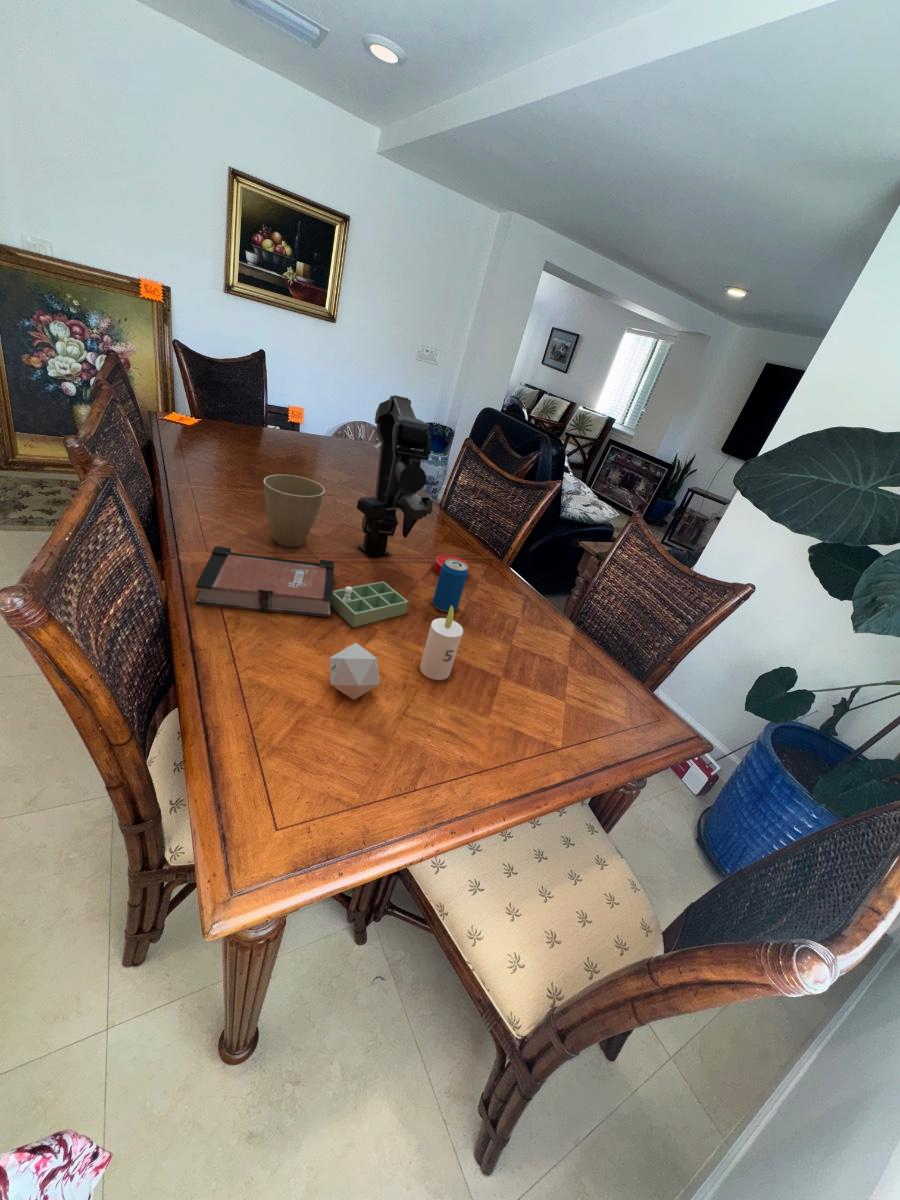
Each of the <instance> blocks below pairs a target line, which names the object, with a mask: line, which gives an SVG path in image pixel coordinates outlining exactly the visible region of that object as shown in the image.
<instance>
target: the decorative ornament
mask: <svg viewBox="0 0 900 1200" xmlns="http://www.w3.org/2000/svg"><path fill="white" fill-rule="evenodd" d="M447 559H456V560H460V561H462V562H464V563H465V564H466V565H467V566H468V568H467V570H468V571H469V568H470V566H469V564H468V563H467V561H465V559H462V558H461V557H457V556H454V555H449V554H442V555H439V556H437V557H436V558H435V563H434V565H433V570H434V572H435V573H436V575H438V576H439V575H440V571H441V568H442V565H443V564H444V563H445V561H446V560H447Z"/></svg>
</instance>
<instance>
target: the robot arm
mask: <svg viewBox="0 0 900 1200" xmlns="http://www.w3.org/2000/svg"><path fill="white" fill-rule="evenodd" d="M374 423H375V424H376V427H375V428H376V429H375V431H376V435H377V437H378V439H379V441H380V449H379V458H378V467H377V476H376V485H375V495H374V496H364V497H360V498H359V499H358V501H357V504H356V509H357V510H358V511H359V512H361V514H363V517H362V518H361V519H362V520H361V530H362V534H364V539H363V544H360V545H358V549H360V550H361V551H362V552H364V553H365V554H366V555H367V556H368V557H370V558H375V557H382V556H388V555H389V554H390V552H389V551H388V550H387V547H388V539H389V536H390V537H394V535H395V532H396V529H397V528H398V525H399V520H398V516H397V510H400V511H401V512H402V514H403V518H402V537H403V538H407V537H408V536H409V534H410V532H411V531H412V529H414V526H415V525H416V523H418V520H422V519H423V518H426V517H428V515H431V514H432V511H433V507H434V506H433V503H434V500H433V498H432V497H431V496H423V495H421V494H417V492H419V491H421V490H422V489H423V488H425V485H426V483H427V475H426V472H425V470H424V469H423V468H422V465H421V463H422V460H423V461H429V456H430V455H431V453H432V452H431V451H432V447H431V446H432V445H431V443H432V442H431V440H432V439H431V433H430V429H428V425H427V423H426V422H425V421H424V420H421V419H418V418H417V417H416V415H415V412H414V410H413V407H412V400H411V399H409V398H408V397H405V396H402V395H401V396H400V395H396V394H393V395H390V396H389V398H388V399H387V400H385V401H382V402H380V403H379V404H378V407H377V409H376V411H375V417H374Z"/></svg>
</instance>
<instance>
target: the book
mask: <svg viewBox="0 0 900 1200" xmlns="http://www.w3.org/2000/svg"><path fill="white" fill-rule="evenodd" d="M334 569H335V561H333V560H327V559H320V560H319V563H318V562H310V561H303V560H302V561H301V560H294V559H288V558H286V559H285V558H279V557H269V556H263V555H253V554H245V553H237V552H232V548H231V547H224V546H214V547H213V549H212V551H211V555H210V557H209V559H208V561H207V563H206V564H205V566H204V568H203V570H202V572H201V574H200V576H199V577H198V580H197V581H196V583H195V589H198V590H197V591H198V596H197V598H196V600H195V605H199V606H209V607H219V608H230V609H242V610H251V611H260V613H268V612H270V613H271V612H272V613H281V614H291V615H292V614H294V615H303V616H313V617H324V618H331V608H332V607H331V602H332V593H333V591H334V589H333V588H334Z"/></svg>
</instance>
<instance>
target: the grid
mask: <svg viewBox="0 0 900 1200" xmlns="http://www.w3.org/2000/svg"><path fill="white" fill-rule="evenodd" d="M350 587H351V588H352V593H351V594H350V595H351V596H350V599H351V600H349V601H345V602H344V601H343V598H344V597H345V588H340V589H336V590H335V589H334V590H333V593H332V602H331V608H332V609H334V611H335V612H337V614H338V615H339V616H341V618H342V619H343V620H345V621H346V622H347V623H348V624H349V626H351V628H356V627H361V626H365V625H368V624H372V623H376V622H379V621H384V620H386V619H392V618H396V617H399V616H404V615H407V610H408V605H409V601H408V600H407V599H406V598H405V597H404V596H402V595H401V594H400V593H399V592H397V591H396V590H395V589H393V587H391V586H390V585H389V584H388V583H386V582H385V581H384V580H383V581H377V582H372V583H366V584H361V585H357V586H350Z"/></svg>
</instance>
